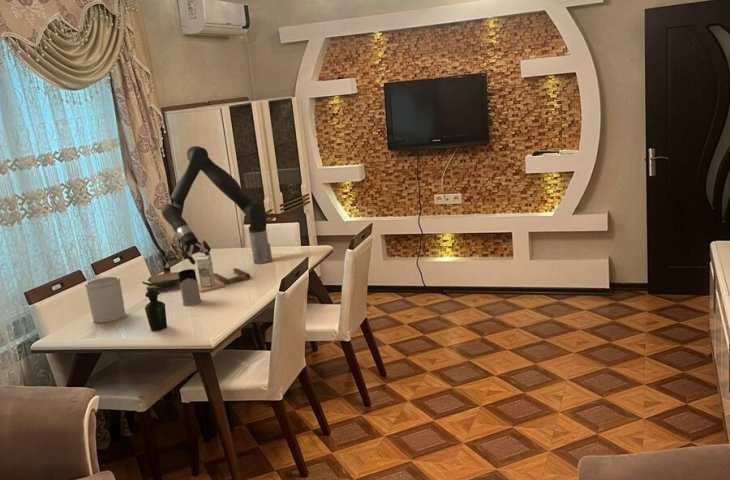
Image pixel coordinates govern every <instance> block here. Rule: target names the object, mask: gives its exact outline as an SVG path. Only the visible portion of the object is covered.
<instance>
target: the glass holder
mask: <svg viewBox="0 0 730 480" xmlns="http://www.w3.org/2000/svg"><path fill="white" fill-rule="evenodd" d="M178 272H179V273H178V275H179V280H180V282H179V288H180V291H181V292H180V293H181V298H182V306H183V307H193V306H197V305H199V304H202V302H203V300H202V299H201V292H199V287H198V285H199V283H198V279H197V274H196V269H193V268H191V269H189V268H188V269H182V270H181V271H178Z"/></svg>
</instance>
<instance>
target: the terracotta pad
mask: <svg viewBox="0 0 730 480" xmlns="http://www.w3.org/2000/svg"><path fill="white" fill-rule="evenodd" d="M225 285H226V284H224V283H222V282H220V281H217V280H215V284H214V285H213V286H210V287H201V283H200V284H198V287H199V293H200V294H202V293H203V294H204V293H205V292H206V293H207V292H211V291H214V290H217V289H221V288H225V287H226V286H225Z"/></svg>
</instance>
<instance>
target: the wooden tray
mask: <svg viewBox="0 0 730 480" xmlns="http://www.w3.org/2000/svg"><path fill="white" fill-rule="evenodd" d="M232 270H233V274H234V275H237V276H233V277H230V278H227V277H225V276H222V275H220V274H218V273H216V272H215V273H214V278H215V280H216V281H218V282H220V283H222V284H224V285H226V286H228V285H232V284H236V283H239V282H243V281H247V280H250V279H251V275H250V273H248V272H247V271H243V270H241V269H239V268H232Z"/></svg>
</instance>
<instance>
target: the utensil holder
mask: <svg viewBox="0 0 730 480" xmlns="http://www.w3.org/2000/svg"><path fill="white" fill-rule="evenodd" d="M84 286H85V288H86V293H87V298H88V302H89V303H88V304H89V308H90V311H91V312H90V313H91V316H92V320H93V322H94V323H99V324H100V323H102V324H103V323H110V322H114V321H117V320H120V319H122V318H123V317H125V316H126V309H125V304H124V303H125V302H124V297H123V291H122V284H121V277H120V276H117V275H105V276H100V277H95V278H92V279H90V280H88V281H85V283H84Z"/></svg>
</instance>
